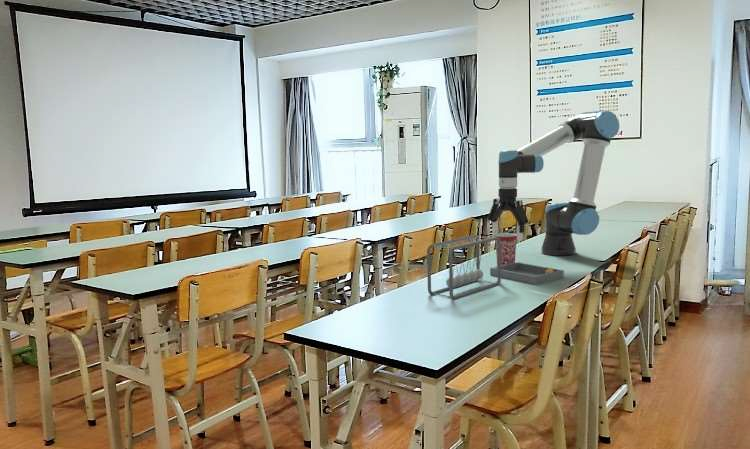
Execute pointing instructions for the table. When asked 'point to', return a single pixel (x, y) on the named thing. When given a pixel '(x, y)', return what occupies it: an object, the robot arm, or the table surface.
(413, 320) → the table surface
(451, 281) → the newton's cradle
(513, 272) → the tray
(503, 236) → the mug
